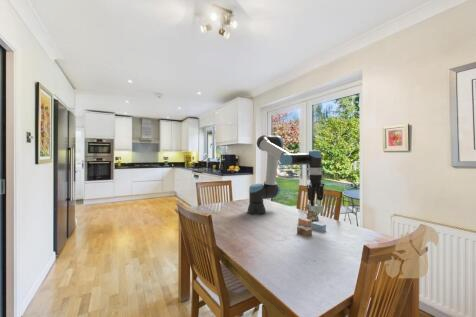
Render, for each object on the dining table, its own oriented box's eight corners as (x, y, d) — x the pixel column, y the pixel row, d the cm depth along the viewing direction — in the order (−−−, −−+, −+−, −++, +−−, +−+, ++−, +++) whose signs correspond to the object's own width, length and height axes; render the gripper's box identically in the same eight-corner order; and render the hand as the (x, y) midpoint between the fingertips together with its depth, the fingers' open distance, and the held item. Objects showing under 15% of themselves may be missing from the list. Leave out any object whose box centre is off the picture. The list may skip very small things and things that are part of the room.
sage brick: (323, 212, 137) (323, 205, 137) (318, 213, 135) (318, 206, 135) (313, 209, 144) (313, 203, 144) (309, 210, 142) (309, 204, 142)
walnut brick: (297, 233, 135) (297, 226, 135) (301, 231, 137) (301, 225, 137) (307, 237, 128) (307, 230, 128) (311, 236, 130) (311, 229, 130)
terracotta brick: (298, 223, 152) (298, 218, 152) (302, 222, 154) (302, 217, 154) (307, 227, 145) (307, 221, 145) (311, 226, 147) (311, 220, 147)
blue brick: (311, 228, 142) (311, 222, 142) (314, 227, 145) (314, 221, 145) (322, 232, 136) (322, 225, 136) (325, 230, 138) (325, 224, 138)
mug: (317, 217, 166) (317, 203, 166) (320, 221, 157) (320, 206, 156) (301, 217, 167) (301, 203, 166) (303, 221, 157) (303, 206, 157)
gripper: (310, 175, 132) (310, 213, 133) (329, 173, 140) (329, 209, 141) (301, 174, 139) (301, 211, 139) (320, 173, 147) (320, 207, 147)
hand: (315, 210), depth 140 cm, fingers closed on sage brick, 4 cm apart
